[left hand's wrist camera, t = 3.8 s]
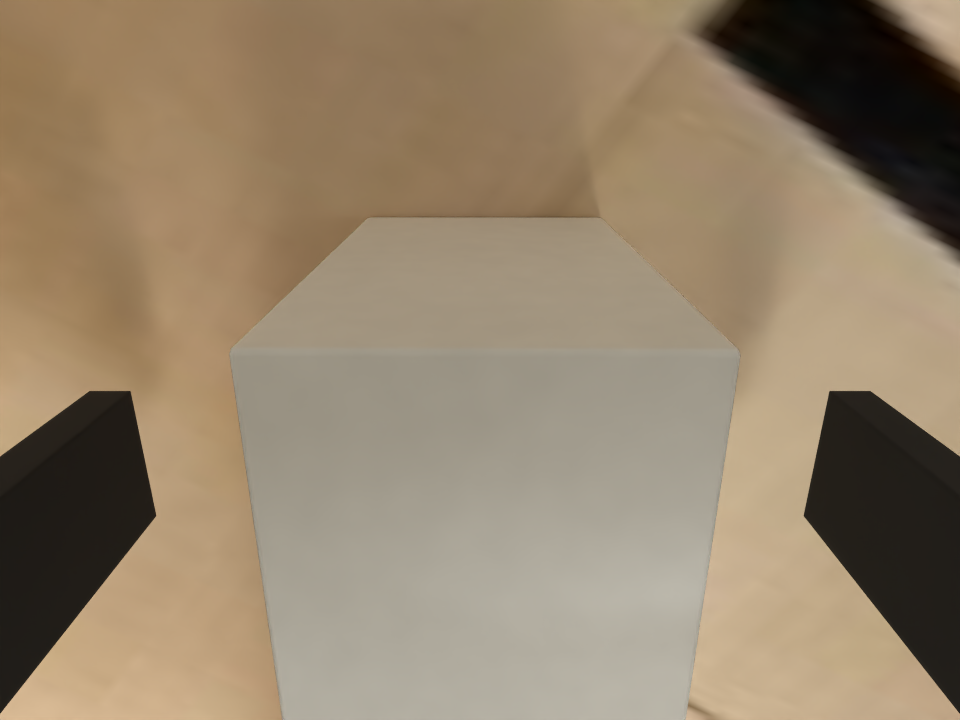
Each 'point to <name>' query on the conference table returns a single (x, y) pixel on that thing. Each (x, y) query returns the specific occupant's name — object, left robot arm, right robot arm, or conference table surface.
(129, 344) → the conference table surface
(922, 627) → the left robot arm
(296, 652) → the bar
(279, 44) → the conference table surface
